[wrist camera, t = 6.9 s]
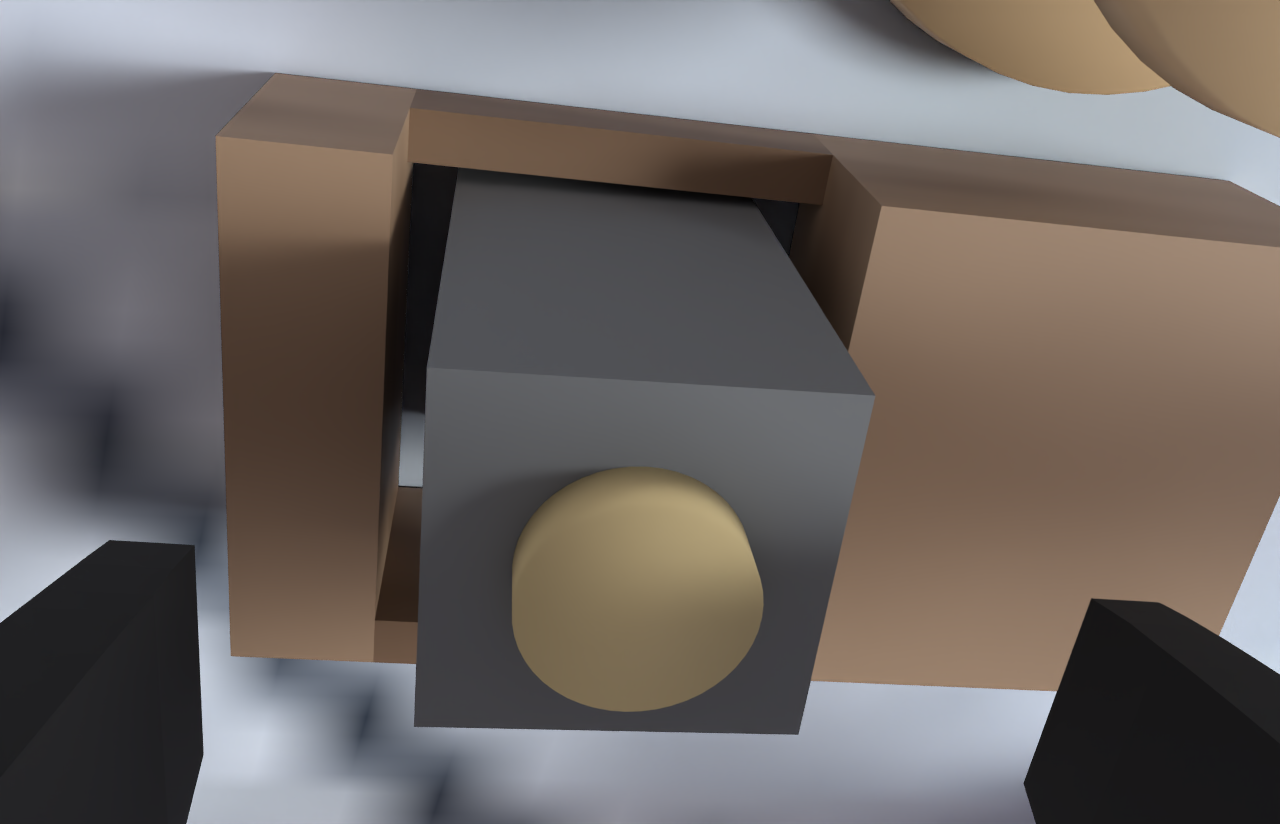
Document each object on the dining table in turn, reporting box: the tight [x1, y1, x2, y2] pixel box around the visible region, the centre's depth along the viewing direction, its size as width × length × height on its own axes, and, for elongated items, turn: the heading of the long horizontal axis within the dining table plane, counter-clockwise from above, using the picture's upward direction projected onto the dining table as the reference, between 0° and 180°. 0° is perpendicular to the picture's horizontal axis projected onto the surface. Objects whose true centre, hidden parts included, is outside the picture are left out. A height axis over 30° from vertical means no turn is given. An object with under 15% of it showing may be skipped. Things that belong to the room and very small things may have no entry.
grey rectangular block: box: [414, 167, 875, 735], centre depth 12 cm, size 4×4×7 cm
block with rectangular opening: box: [215, 73, 1280, 691], centre depth 14 cm, size 6×12×3 cm, turn 83°
